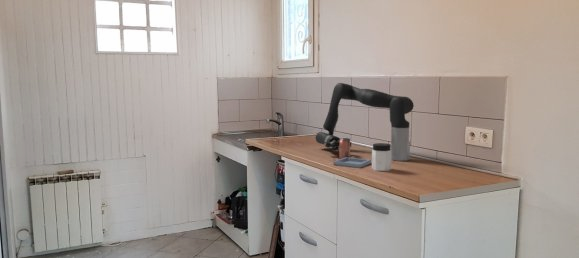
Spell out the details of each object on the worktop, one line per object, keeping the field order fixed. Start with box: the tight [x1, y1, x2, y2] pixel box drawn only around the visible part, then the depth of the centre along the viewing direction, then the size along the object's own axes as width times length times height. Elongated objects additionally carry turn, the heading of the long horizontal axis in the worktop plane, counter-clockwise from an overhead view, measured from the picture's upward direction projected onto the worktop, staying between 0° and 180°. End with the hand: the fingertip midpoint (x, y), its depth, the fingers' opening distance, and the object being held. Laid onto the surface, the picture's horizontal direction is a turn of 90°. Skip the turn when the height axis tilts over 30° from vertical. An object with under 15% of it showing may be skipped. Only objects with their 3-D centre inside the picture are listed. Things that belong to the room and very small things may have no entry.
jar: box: [371, 142, 392, 172], centre depth 208 cm, size 9×8×12 cm
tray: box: [333, 157, 372, 169], centre depth 221 cm, size 14×14×2 cm
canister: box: [338, 137, 351, 160], centre depth 235 cm, size 6×6×11 cm
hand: (342, 146), depth 239 cm, fingers open, 8 cm apart
